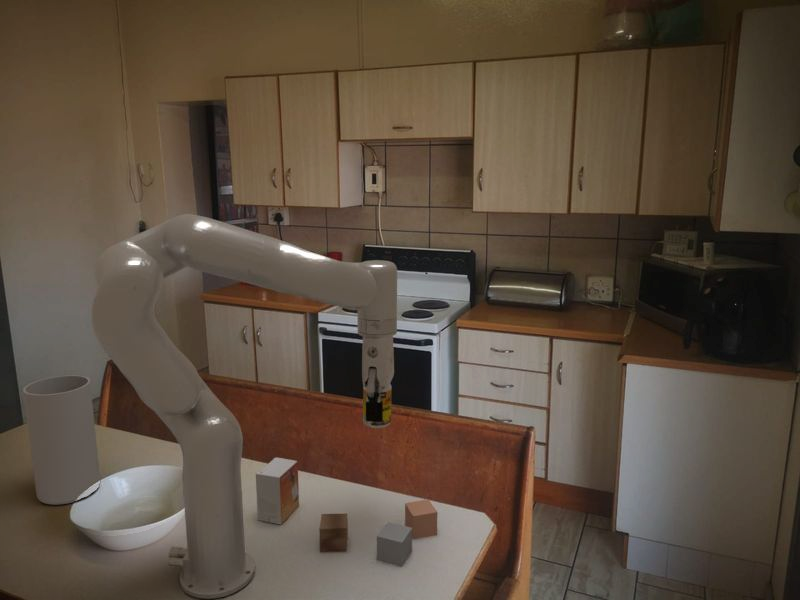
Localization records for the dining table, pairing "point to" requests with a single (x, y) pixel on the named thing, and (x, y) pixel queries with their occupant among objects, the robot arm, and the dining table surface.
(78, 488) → the cylinder vase
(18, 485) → the dining table surface
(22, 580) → the dining table surface
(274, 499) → the small box
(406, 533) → the slate block
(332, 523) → the walnut block
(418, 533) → the terracotta block
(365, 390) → the supplement bottle
